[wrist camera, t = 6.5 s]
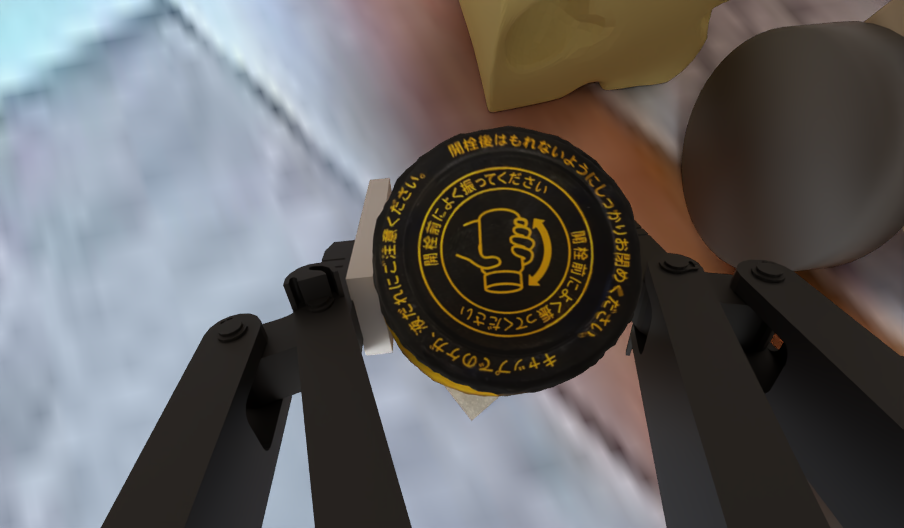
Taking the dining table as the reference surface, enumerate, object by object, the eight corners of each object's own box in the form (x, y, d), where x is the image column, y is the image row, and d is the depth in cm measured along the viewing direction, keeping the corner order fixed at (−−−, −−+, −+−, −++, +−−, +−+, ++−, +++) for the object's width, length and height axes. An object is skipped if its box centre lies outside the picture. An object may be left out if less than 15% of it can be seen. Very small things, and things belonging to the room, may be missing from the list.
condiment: (373, 295, 19) (249, 218, 7) (507, 190, 20) (586, -25, 8) (471, 420, 18) (508, 563, 6) (607, 301, 19) (858, 233, 7)
